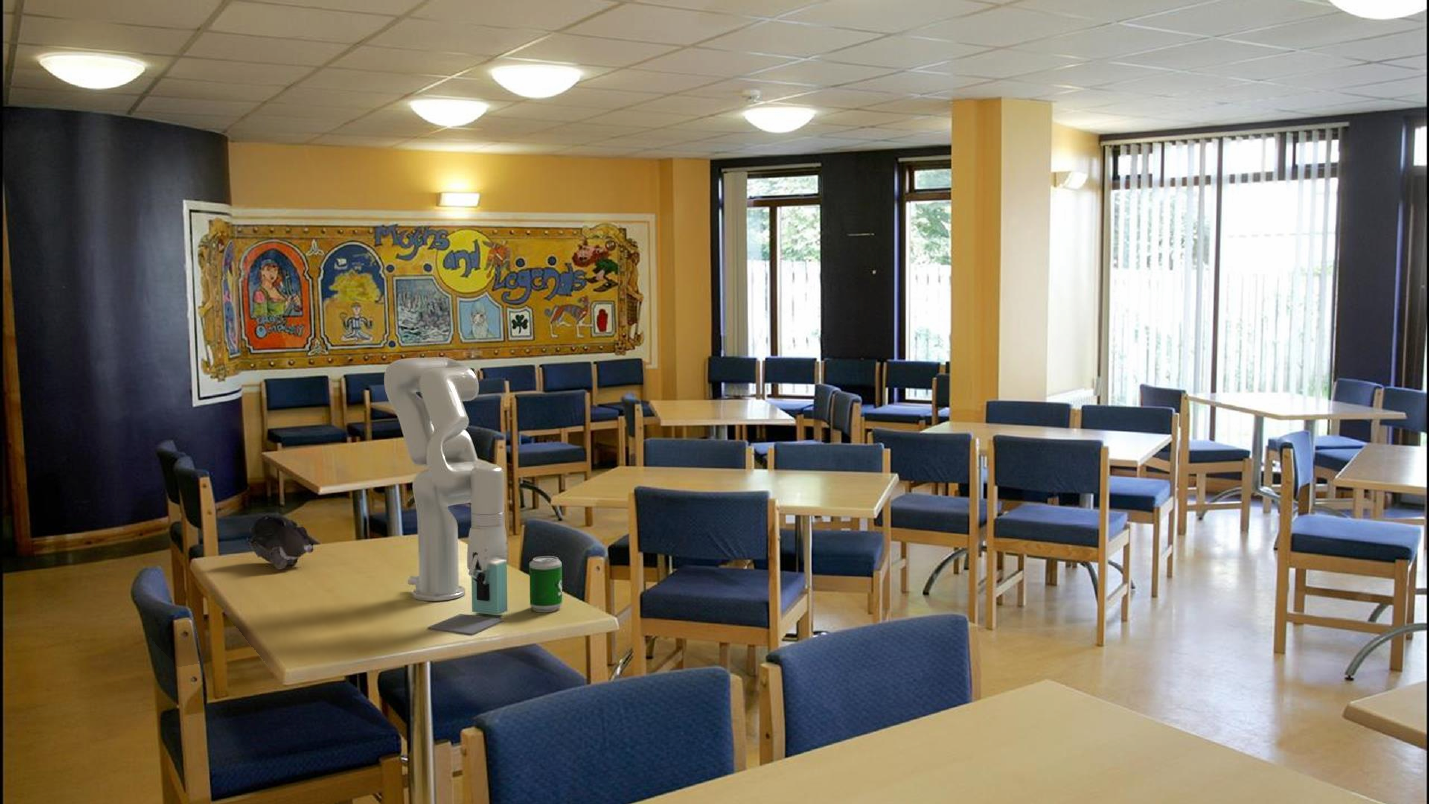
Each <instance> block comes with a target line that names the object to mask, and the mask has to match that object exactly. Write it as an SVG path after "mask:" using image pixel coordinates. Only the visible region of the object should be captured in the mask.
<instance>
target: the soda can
mask: <svg viewBox="0 0 1429 804" xmlns="http://www.w3.org/2000/svg"><path fill="white" fill-rule="evenodd" d="M528 566H529V568H528V569H529V605H530V608H532V609H533V611H535V612H538V613H551V612H556V611H558V610H559V609H560V607H561V606H562V605H563V574H562V573H563V572H562V571H563V567H562V566H563V565H562V561H561V560H560V559H559V558H558V557H557V556H553V555H552V556H550V555H546V556H545V555H544V556H536V557H534V558H533V559H532V561H530V562H529V565H528Z"/></svg>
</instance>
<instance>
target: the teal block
mask: <svg viewBox="0 0 1429 804" xmlns="http://www.w3.org/2000/svg"><path fill="white" fill-rule="evenodd" d="M507 565H508V563H507V560H503V559H501V560H499V561H496V562H493V563H492V564H491V569H490V570H489V573H488V583H487V584H489V592H490V600H489V601H481V600H477V585H476V583H475V580H474V579H473V577H471V576H470V577H471V580H470V581H471V612H472V613H477V614H478V613H479V614H487V615H492V616H493V615H494V616H499V615H501V614H503V613H506V612H508V571H507V570H508V566H507ZM480 569H481V567H480ZM480 574H481V575H482V576H483V574H484V573H480Z"/></svg>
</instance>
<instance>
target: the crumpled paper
mask: <svg viewBox="0 0 1429 804" xmlns="http://www.w3.org/2000/svg"><path fill="white" fill-rule="evenodd" d="M284 516H285V514H283V515H282V516H281V517H276V516H275V515H272V514H268V515H266V516H262V517H258V518H257V520H255V521H254V522H253V523H252V524H251V525H250V527H249V530H248V531H249V532H251V534H252V537H251V540H250V538H248V537H246V540H247V544H248V545H249V547H250V548H251V550H252V551H253V553H254V554H255V555H256V556H257V558H260V557H261V558H262V559H263V560H265V561H266V562H268V563H270V564H273V565H274V567H275V568H276V569H278V570H282V569H284V568H286V567H287V566H296V565H297V563H298V560H299V559H300V558H301V557H302V556H303V555H305V554H306V553H308V554H311V553H313V552H314V542H313V541H312V540H310V537H309V535H308V532H307V529H306V528H305V527H304V526H303V525H302V526H299V527H298V523H297V522H296V521H294V520H292V519H289V520H288V521H286V522H285V521H284Z"/></svg>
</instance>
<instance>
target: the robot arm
mask: <svg viewBox="0 0 1429 804" xmlns="http://www.w3.org/2000/svg"><path fill="white" fill-rule="evenodd" d="M383 381H384V382H383V384H384V390H385V394H386V396H387V401H388V402H389V404H390V405H391V407H392V410H393V411H394V413H395V415H396V416H397V419H398V422H399V424H400V429H401V432H402V435H403V439H404V442H405V445H406V448H407V453H408V455H409V457H410V460H411V462H412V463H413V465H415V466H418V467H427V469H424V470H421V471H420V472H418V473H417V474H416V475H415V476H414V478H413V481H412V493H413V497H414V498H413V499H414V504H415V508H416V518H417V519H416V520H417V544H418V545H417V546H418V547H417V548H418V549H417V550H418V553H417V555H418V575H415V574H412V575H410V577H409V579H408V580H407V584H408V585H410V586H411V585H412V586H415V589H414V590H413V591H412V597H413V598H414V599H416V600H420V601H427V602H428V601H429V602H438V601H439V602H440V601H450V600H455V599H458V598H460V597H463V596H465V594H466V588H465V587H464V586H463V585H462V586H461V585H460V582H459V578H460V577H459V573H460V572H459V532H458V531H459V530H458V528H459V527H458V522H457V519H456V518H455V516H454V515H453V514H452V512H451V511H450V509H449V507H450V506H455V505H462V504H470V508H471V509H470V511H471V512H470V516H471V517H470V519H471V527H469V531H468V539H467V552H466V565H467V566H466V567H467V569H468V575H469V576H470V577H473V579H474V580H475V583H476V585H477V600H481V601H489V600H490V592H489V584H487V583H488V573H489V570H490V569H491V564H492V563H493V562H496V561H499V560H501V559H503V560H507V564H508V563H509V559H508V540H507V539H508V538H507V537H508V536H507V531H506V526H505V525H506V523H505V521H506V520H505V473H504V470H503V468H502V467H501V466H498V465H492V464H490V463H489V462H487V461H484V460H479V459H478V455H477V452H476V449H475V446H474V443H473V440H472V437H471V436H470V433H469V432H468V431H467V430H466V429H467V427H469V423H470V420H469V419H470V418H469V417H468V413H467V412H466V408H465V405H464V403H463V402H468V401H472V400H474V399H476V398H477V396H478V395H479V389H480V386H479V380H478V377H477V375H476V374H475V372H474V371H473V370H472V369H471V368H470V367H469V366H467V365H465V364H463V363H460V362H459V361H457V360H455V359H453V358H450V357H446V356H443V357H442V356H441V357H437V356H436V357H410V358H409V357H408V358H402V359H398V360H394V361H392V362H391V363H389V364H388V365H387V367H386V368H385V371H384V378H383ZM417 393H420V395H421V397H420V395H418V394H417ZM480 567H481V569H480ZM480 573H484V574H483V576H482V575H481V574H480Z"/></svg>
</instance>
